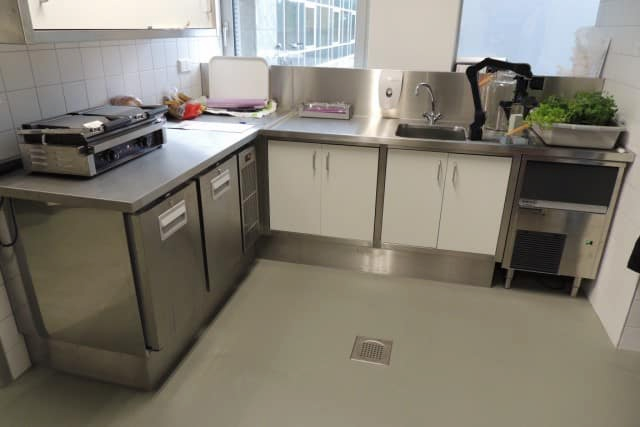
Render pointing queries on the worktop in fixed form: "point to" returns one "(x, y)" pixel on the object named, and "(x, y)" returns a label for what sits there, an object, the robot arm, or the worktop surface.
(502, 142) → the clamp base
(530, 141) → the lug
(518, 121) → the skincare box
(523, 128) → the strap
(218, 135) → the worktop surface
